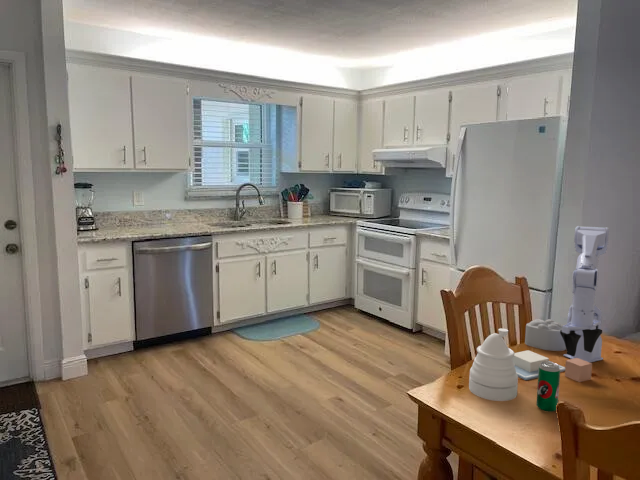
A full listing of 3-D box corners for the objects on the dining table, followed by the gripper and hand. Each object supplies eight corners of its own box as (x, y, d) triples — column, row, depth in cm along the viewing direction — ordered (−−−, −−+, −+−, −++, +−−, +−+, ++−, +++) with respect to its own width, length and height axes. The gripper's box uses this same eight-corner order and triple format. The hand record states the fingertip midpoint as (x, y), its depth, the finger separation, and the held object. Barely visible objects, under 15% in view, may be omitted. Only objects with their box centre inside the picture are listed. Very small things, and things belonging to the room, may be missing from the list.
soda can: (559, 413, 125) (563, 369, 123) (538, 411, 126) (541, 367, 124) (554, 404, 130) (557, 361, 128) (534, 402, 131) (537, 360, 129)
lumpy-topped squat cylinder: (532, 337, 183) (534, 315, 182) (570, 346, 175) (571, 322, 173) (522, 344, 176) (523, 321, 175) (560, 353, 167) (562, 329, 166)
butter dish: (531, 355, 165) (531, 345, 165) (567, 370, 153) (568, 359, 152) (491, 363, 158) (491, 353, 157) (525, 380, 145) (526, 368, 145)
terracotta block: (575, 373, 151) (577, 357, 150) (590, 379, 146) (592, 363, 145) (564, 376, 148) (565, 360, 148) (579, 382, 144) (580, 366, 143)
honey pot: (515, 384, 142) (519, 324, 140) (518, 404, 130) (522, 339, 128) (469, 378, 146) (472, 320, 144) (468, 396, 134) (470, 333, 132)
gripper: (578, 315, 138) (574, 361, 140) (611, 309, 144) (608, 354, 146) (556, 309, 144) (553, 353, 146) (589, 304, 150) (586, 346, 152)
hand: (579, 353), depth 146 cm, fingers open, 7 cm apart
